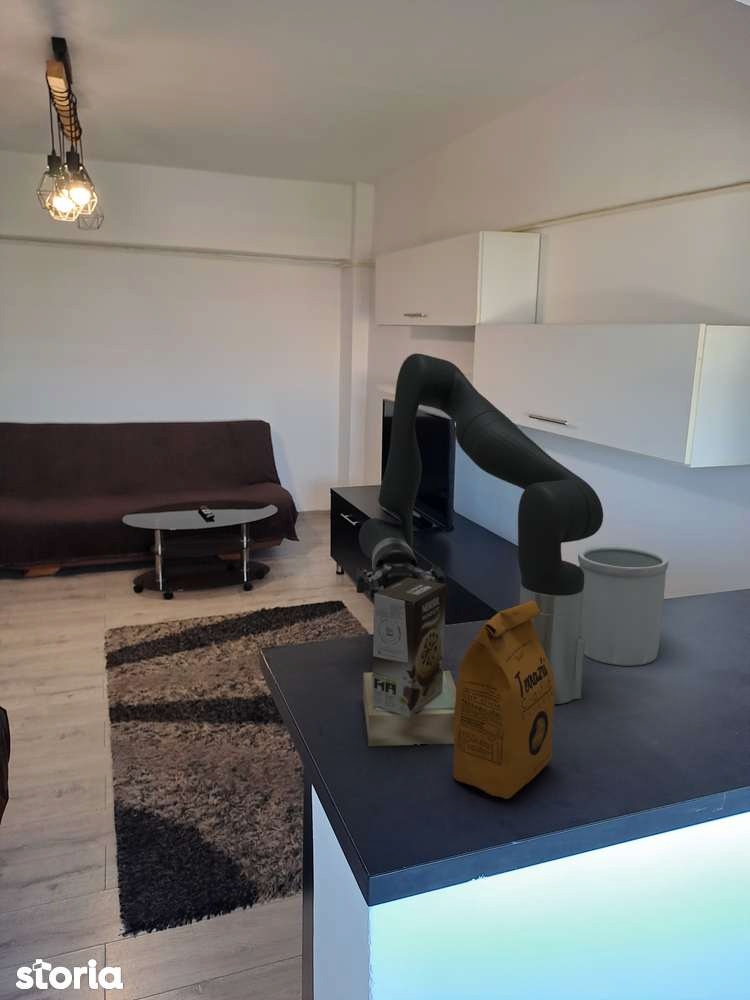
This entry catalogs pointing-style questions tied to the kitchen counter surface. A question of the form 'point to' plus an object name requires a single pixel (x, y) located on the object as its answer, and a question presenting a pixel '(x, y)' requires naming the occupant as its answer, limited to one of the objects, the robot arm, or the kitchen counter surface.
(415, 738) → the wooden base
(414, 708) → the coffee box
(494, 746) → the coffee package
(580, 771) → the kitchen counter surface
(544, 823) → the kitchen counter surface
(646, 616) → the utensil holder
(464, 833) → the kitchen counter surface
